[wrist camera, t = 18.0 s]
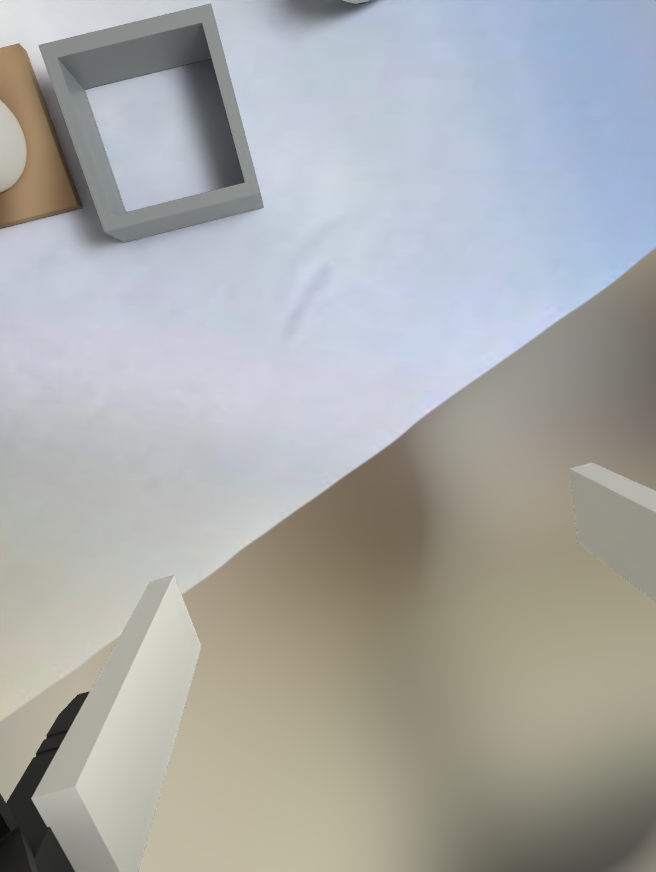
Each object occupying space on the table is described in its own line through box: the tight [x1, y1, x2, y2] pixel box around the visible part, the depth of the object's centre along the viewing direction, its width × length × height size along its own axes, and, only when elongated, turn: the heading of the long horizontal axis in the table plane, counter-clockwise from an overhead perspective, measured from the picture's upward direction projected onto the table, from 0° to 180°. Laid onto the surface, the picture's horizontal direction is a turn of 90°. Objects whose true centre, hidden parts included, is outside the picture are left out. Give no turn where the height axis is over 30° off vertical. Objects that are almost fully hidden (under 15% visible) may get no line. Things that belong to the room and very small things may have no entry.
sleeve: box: [39, 4, 263, 243], centre depth 36 cm, size 13×13×4 cm
